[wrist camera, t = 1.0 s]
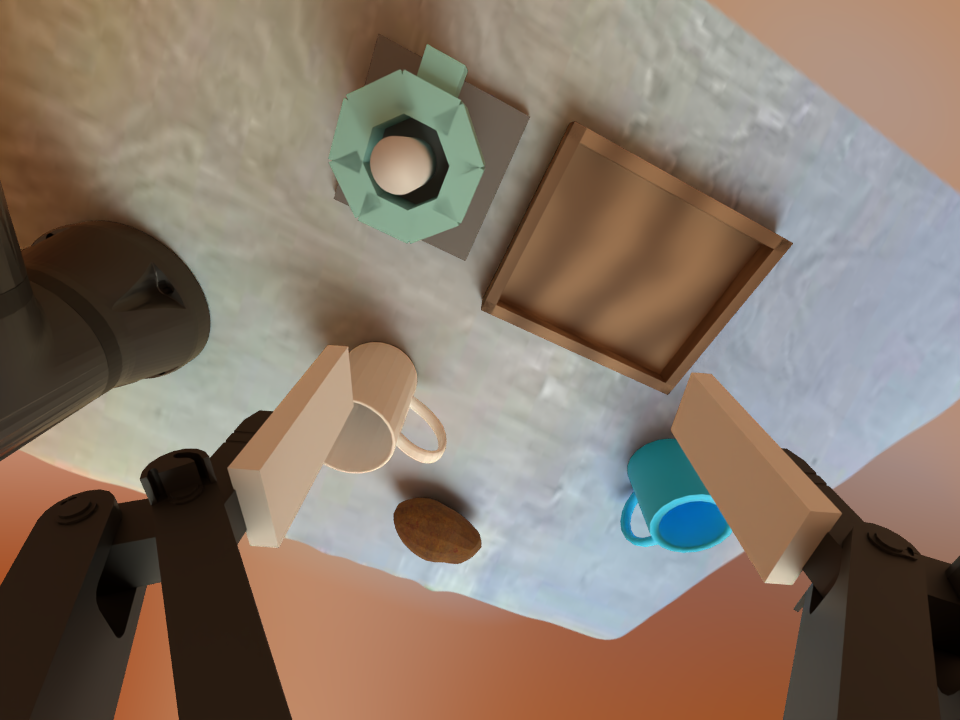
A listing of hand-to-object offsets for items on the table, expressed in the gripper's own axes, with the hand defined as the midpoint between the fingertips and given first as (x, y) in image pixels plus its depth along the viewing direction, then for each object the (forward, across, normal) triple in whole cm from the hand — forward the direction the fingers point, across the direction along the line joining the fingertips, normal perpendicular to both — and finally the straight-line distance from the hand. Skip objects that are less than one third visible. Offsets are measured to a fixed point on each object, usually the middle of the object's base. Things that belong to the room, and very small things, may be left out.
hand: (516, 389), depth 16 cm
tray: (+23, +11, -1) cm, 25 cm away
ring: (+17, -7, +7) cm, 20 cm away
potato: (+23, -5, -33) cm, 41 cm away
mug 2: (+23, +20, -25) cm, 39 cm away
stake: (+23, -7, +7) cm, 25 cm away
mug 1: (+24, -10, -15) cm, 29 cm away
